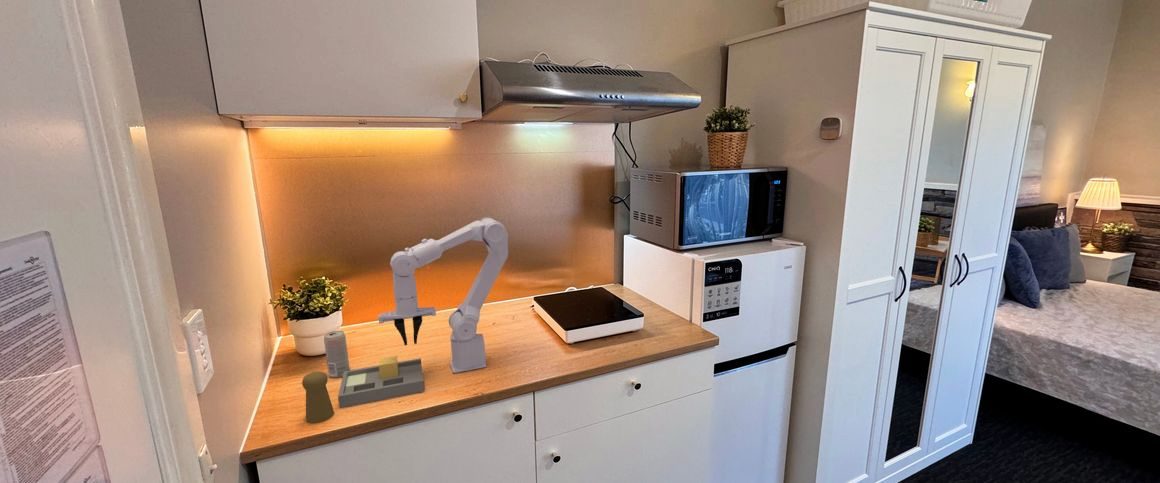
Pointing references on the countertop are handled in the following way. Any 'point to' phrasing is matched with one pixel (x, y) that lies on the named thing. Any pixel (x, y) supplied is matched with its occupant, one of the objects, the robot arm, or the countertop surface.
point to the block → (388, 367)
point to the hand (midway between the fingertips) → (410, 343)
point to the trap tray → (380, 384)
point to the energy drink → (336, 353)
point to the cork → (317, 398)
